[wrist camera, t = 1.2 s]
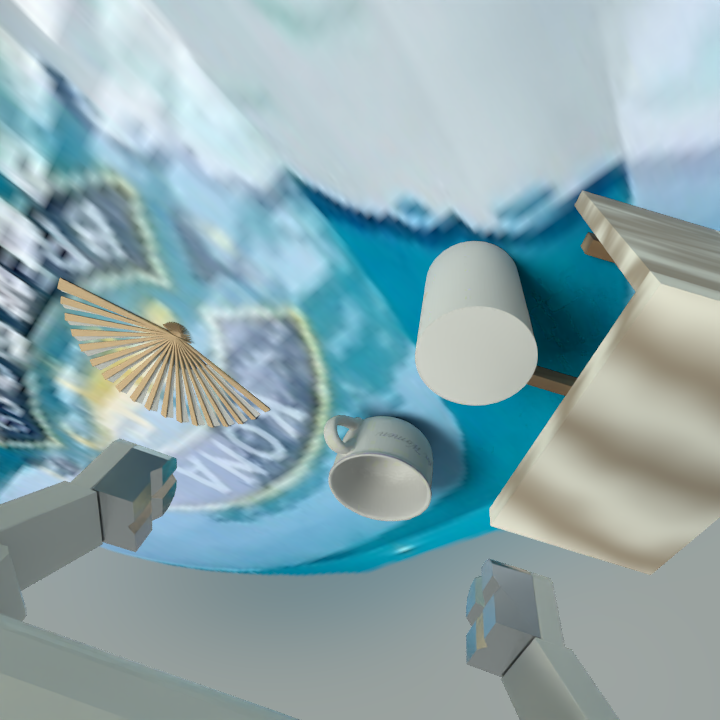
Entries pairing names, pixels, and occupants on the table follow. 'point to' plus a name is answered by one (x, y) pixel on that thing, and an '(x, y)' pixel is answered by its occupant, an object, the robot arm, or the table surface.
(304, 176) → the table surface
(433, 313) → the cup
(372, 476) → the teacup
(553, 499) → the marbled side table
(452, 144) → the table surface
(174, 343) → the hand fan
